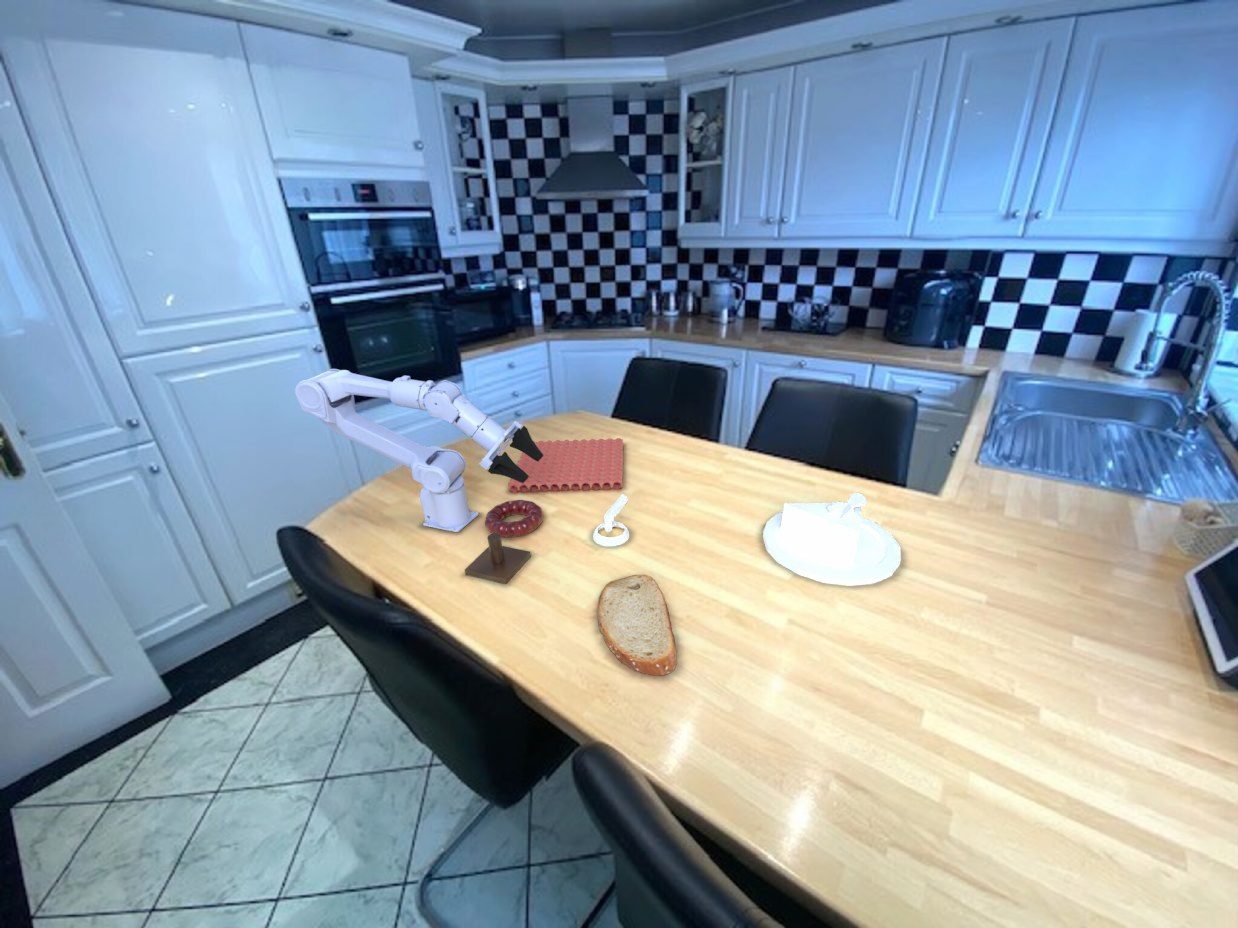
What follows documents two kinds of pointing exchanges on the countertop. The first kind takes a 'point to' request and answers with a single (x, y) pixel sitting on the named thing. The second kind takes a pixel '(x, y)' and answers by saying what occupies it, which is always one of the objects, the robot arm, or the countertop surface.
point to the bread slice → (637, 624)
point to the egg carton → (573, 466)
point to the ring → (515, 527)
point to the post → (497, 561)
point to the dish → (832, 543)
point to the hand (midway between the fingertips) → (533, 468)
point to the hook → (612, 525)
